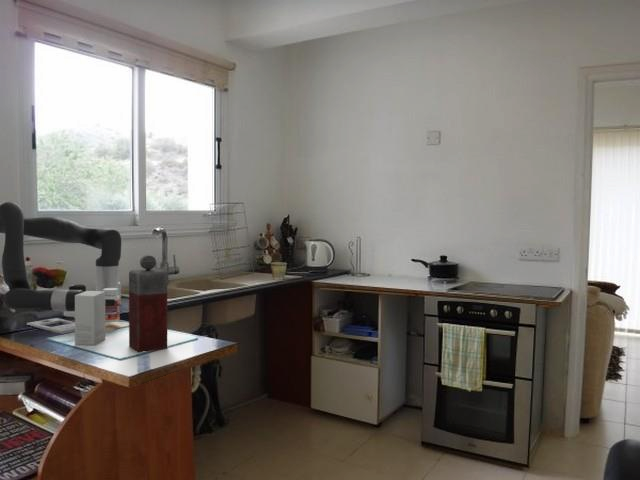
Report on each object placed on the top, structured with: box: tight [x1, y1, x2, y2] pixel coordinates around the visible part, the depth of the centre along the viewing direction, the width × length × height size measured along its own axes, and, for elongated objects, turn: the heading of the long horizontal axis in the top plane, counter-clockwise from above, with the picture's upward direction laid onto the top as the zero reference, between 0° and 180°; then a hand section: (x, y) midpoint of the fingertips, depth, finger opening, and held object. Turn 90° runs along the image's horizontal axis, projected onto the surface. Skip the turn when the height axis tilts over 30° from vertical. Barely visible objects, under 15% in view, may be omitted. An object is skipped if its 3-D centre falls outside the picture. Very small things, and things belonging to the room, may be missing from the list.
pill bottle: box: [103, 288, 121, 323], centre depth 184 cm, size 6×6×11 cm
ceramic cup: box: [270, 261, 288, 280], centre depth 323 cm, size 13×10×10 cm
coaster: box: [105, 321, 129, 332], centre depth 185 cm, size 10×10×1 cm
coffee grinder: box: [128, 254, 168, 353], centre depth 158 cm, size 9×11×28 cm
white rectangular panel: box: [26, 317, 75, 335], centre depth 183 cm, size 11×22×1 cm, turn 57°
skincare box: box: [74, 290, 106, 346], centre depth 162 cm, size 8×7×16 cm
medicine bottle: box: [63, 284, 87, 319], centre depth 202 cm, size 7×7×12 cm
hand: (117, 301), depth 184 cm, fingers closed on pill bottle, 6 cm apart
